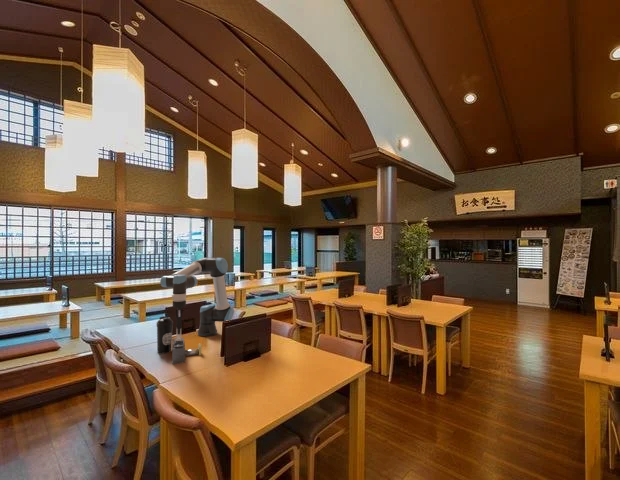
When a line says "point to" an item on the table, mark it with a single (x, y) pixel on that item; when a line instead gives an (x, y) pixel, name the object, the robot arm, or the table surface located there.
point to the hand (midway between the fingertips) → (178, 339)
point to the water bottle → (164, 335)
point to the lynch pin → (194, 351)
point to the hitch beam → (178, 352)
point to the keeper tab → (178, 342)
